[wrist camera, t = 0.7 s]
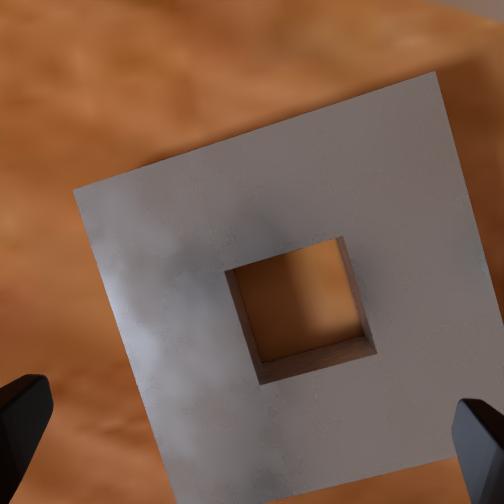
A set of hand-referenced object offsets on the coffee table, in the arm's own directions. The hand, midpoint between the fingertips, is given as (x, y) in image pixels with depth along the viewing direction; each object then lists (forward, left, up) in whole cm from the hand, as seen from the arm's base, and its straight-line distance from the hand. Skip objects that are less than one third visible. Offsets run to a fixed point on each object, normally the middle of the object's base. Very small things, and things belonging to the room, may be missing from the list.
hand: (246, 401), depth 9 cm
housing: (-1, -2, -14) cm, 14 cm away
